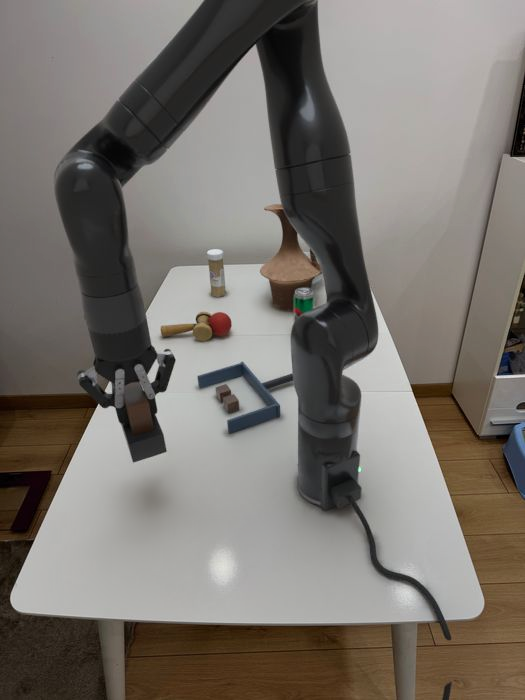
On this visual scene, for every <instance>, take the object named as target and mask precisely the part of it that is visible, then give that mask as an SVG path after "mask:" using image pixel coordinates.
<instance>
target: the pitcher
mask: <svg viewBox="0 0 525 700" xmlns="http://www.w3.org/2000/svg"><path fill="white" fill-rule="evenodd" d="M263 210H264V211H267V212H271V213H273V214H275V215H276V216H277V217H278V219H279V221H280V224H281V231H282V237H281V244H280V246H279V250H278V252H277V253H276V254H275V255H274V256H273V258H271V259H270V260H269V261H267V262H266V263H264V264H263V265H261V267H260V268H259V273H260V275H261V276H262V277H264V278H266V279H268V283H269V286H270V293H271V300H272V301H271V304H272V306H273V307H274V308H276V309H278V310H282V311H289V312H290V311H293V295H294V293H295V290H296V289H298V288H310V289H312V286H313V284H312V281H313V279H314V278H315V277H316V276H318V275H320V274H322V270H321V267H320V264H319V263H318V262H317V260H316V256H315V255H314V253H313V252H312V251H311V249H310V248H309V252H310V258H311V259H310V258H309V257H308V256H306V255H305V254H304V252H305V251H303V249H302V248H301V246H300V243H299V238H298V236H299V235H298V233H297V232H296V230H295V229H294V227H293V226H292V225H291V223H290V222H289V220H288V218H287V217H286V215H285V213H284V211H283V208H282V204H281V203H277V204H271V205H267V206H265V207H264V208H263Z"/></svg>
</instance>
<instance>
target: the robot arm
mask: <svg viewBox="0 0 525 700" xmlns="http://www.w3.org/2000/svg"><path fill="white" fill-rule="evenodd" d="M320 35H321V34H320V24H319V0H202V2H201V3H200V4H199V5H198V6H197V8H196V9H195V10H194V12H193V13H192V14H191V15H190V17H189V18H188V19H187V20H186V22H184V24H183V25H182V26H181V27H180V28H179V29H178V31H177V32H176V33H175V34H174V35H173V36H172V38H171V39H169V40H168V42H167V43H166V44H165V45H164V46H163V48H161V50H160V51H159V52H158V53H157V54H156V55H155V56H154V58H152V59H151V61H150V62H149V63H148V64H147V65H146V66H145V67H144V68H143V69H142V71H140V73H138V75H137V76H136V77H135V79H134V80H133V81H132V82H131V83H130V84H129V85H128V87H127V88H126V89H125V90H124V91H123V92H122V94H121V95H120V96H119V97H118V99H116V101H115V102H114V103H113V104H112V106H111V107H110V108H109V110H108V111H107V113H106V114H105V115H104V116H103V117H102V119H101V120H99V122H98V123H96V124H95V125H94V126H93V127H92V128H91V129H90V130H89V131H87V132H86V133H85V134H83V136H82V137H81V138H80V139H79V140H78V141H77V142H76V143H74V144H73V146H71V148H70V149H69V150H68V151H67V152H66V153H65V155H64V156H63V157H62V158H61V159H60V160H59V162H58V164H57V166H56V167H55V170H54V174H53V193H54V198H55V203H56V206H57V209H58V212H59V216H60V221H61V222H62V226H63V229H64V232H65V235H66V238H67V241H68V243H69V246H70V249H71V253H72V262H73V266H74V270H75V275H76V280H77V282H78V287H79V290H80V295H81V307H82V310H83V318H84V320H85V323H86V326H87V330H88V334H89V338H90V342H91V345H92V349H93V353H94V360H93V363H92V364H93V366H91V367H90V368H88V369H86V370H85V369H80V370H79V371H78V372H77V374H76V375H77V381H78V384H79V386H80V388H82V389H83V390H84V391H85V392H86V393H87V394H88V395H89V397H91V398H92V399H93V400H94V401H95V402H96V403H97V404H98V405H99V406H100V407H101V408H102V409H108V408H109V407H113V408H115V412H116V417H117V420H118V423H119V424H120V425H121V424H123V423H124V424H125V426H129V425H130V423H129V419H128V415H127V410H126V406H125V403H124V386H126V385H128V384H130V383H134V382H140V383H141V386H142V388H143V390H144V393H145V395H146V398H147V400H148V403H149V407H150V412H151V417H152V418H154V414H155V415H157V414H158V406H157V401H156V396H157V395H158V394H159V393H161V394H162V393H165V392H166V391H167V390H168V386H169V383H170V380H171V377H172V374H173V370H174V367H175V364H176V361H177V360H176V358H175V355H174V353H173V351H172V350H171V349H170V348H165V349H164V350H157V349H156V348H155V347H154V346H153V345H152V340H151V339H152V338H151V334H150V328H149V324H148V319H147V313H146V307H145V302H144V297H143V293H142V291H141V288H140V285H139V281H138V275H137V271H136V270H137V269H136V263H135V259H134V256H133V255H134V254H133V252H132V249H131V245H130V237H129V225H128V217H127V216H128V215H127V207H126V202H125V201H126V200H125V196H124V191H123V188H124V187H125V186H126V184H127V183H129V181H131V179H132V178H133V177H135V175H136V174H137V173H139V171H140V170H141V169H142V168H143V167H145V166H150V165H153V164H155V163H156V162H157V161H158V160H159V159H160V158H161V157H163V156H164V155H165V154H166V153H167V152H168V150H169V149H170V148H171V147H172V146H173V145H174V144H175V142H177V140H178V139H179V138H180V137H181V136H182V135H183V134H184V133H185V131H187V129H188V128H189V127H190V126H191V124H193V122H195V120H196V119H197V117H198V116H199V115H200V114H201V113H202V112H203V110H204V109H205V108H206V106H207V105H208V103H209V102H210V101H211V100H212V99H213V97H214V96H215V94H216V92H218V90H219V89H220V87H221V86H222V85H223V84H224V82H225V81H226V79H227V78H228V77H229V75H231V73H232V72H233V71H234V69H235V68H236V67H237V66H238V65H239V63H240V62H241V61H242V60H243V58H244V57H245V56H246V55H247V54H248V53H249V52H250V51H251V50H252V49H253V47H254V46H255V48H256V52H257V55H258V59H259V63H260V67H261V72H262V77H263V83H264V91H265V101H266V110H267V121H268V122H267V123H268V129H269V136H270V137H269V138H270V144H271V150H272V158H273V167H274V169H275V170H274V172H275V177H276V183H277V189H278V196H279V199H280V204H282V208H283V211H284V213H285V215H286V217H287V218H288V220H289V222H290V223H291V225H292V226H293V227H294V229H295V230H296V232H297V235H298V236H299V237H300V238H301V239H302V240H303V242H304V243H305V244H306V245H307V247H308V248H309V250H310V249H311V251H312V252H313V253H314V255H315V256H316V258H317V260H318V262H319V264H320V267H321V270H322V274H323V277H322V279H323V283H324V288H325V298H326V303H324V304H320V305H319V306H317V307H314V309H312V310H310V311H308V312H306V313H304V314H302V315H300V316H299V317H298V318H297V319H296V320H295V322H294V321H293V324H292V327H291V330H290V331H291V332H290V340H289V341H290V356H291V371H292V373H293V381H292V383H293V387H294V390H295V393H296V395H297V480H296V481H297V482H296V485H297V489H298V492H299V493H300V495H301V497H303V499H305V500H306V501H308V502H309V503H310V504H313V505H315V506H318V507H321V508H322V509H323V511H328V510H331V509H333V508H335V507H337V509H341V508H343V507H346V506H348V505H351V507H352V509H353V510H354V511H355V513H356V515H357V516H358V519H359V520H360V522H361V525H362V526H363V528H364V531H365V533H366V537H367V540H368V543H369V550H370V559H371V561H372V563H373V565H374V567H375V568H376V569H377V570H378V571H379V572H380V573H382V575H384V576H386V577H388V578H391V579H395V580H400V581H404V582H407V583H409V584H411V585H413V586H414V587H416V589H417V590H419V591H420V592H421V594H423V595H424V597H425V598H426V599H427V601H428V602H429V604H430V606H431V607H432V610H433V612H434V613H435V616H436V618H437V621H438V623H439V626H440V628H441V631H442V633H443V634H442V635H443V636H444V639H445V640H446V641H451V640H452V635H451V632H450V629H449V627H448V624H447V622H446V619H445V616H444V614H443V612H442V610H441V608H440V605H439V604H438V602H437V601H436V599H435V597H434V596H433V595H432V593H431V592H430V591H429V590H428V588H427V587H425V586H424V585H423V584H422V583H421V582H420V581H419V580H418V579H416V578H414V577H412V576H411V575H407V574H404V573H400V572H396V571H392V570H390V569H387V568H386V567H384V566H383V565H382V564H381V563H380V561H379V559H378V556H377V547H376V542H375V541H376V540H375V537H374V535H373V532H372V529H371V527H370V524H369V522H368V520H367V518H366V517H365V514H364V513H363V511H362V509H361V508H360V506H359V505H358V503H357V501H359V500H361V496H362V495H361V494H362V486H361V485H360V484H359V483H358V482H359V474H360V472H361V467H360V461H361V454H360V452H359V451H358V440H359V428H360V419H361V407H362V391H361V388H360V385H359V384H358V383H357V382H356V381H355V380H354V379H353V378H351V377H349V376H347V375H345V374H343V372H344V371H345V370H347V369H348V368H350V367H352V366H353V365H356V364H357V363H359V362H361V361H363V360H364V359H366V358H367V357H368V356H370V355H371V354H372V353H373V352H374V350H376V347H377V344H378V341H379V322H378V316H377V310H376V307H375V303H374V297H373V293H372V288H371V284H370V280H369V275H368V272H367V271H368V270H367V267H366V262H365V257H364V251H363V244H362V243H363V242H362V237H361V231H360V230H361V229H360V223H359V215H358V210H357V208H358V207H357V201H356V200H357V199H356V188H355V177H354V170H353V161H352V154H351V152H352V151H351V146H350V141H349V137H348V132H347V129H346V126H345V123H344V119H343V116H342V115H341V111H340V109H339V106H338V103H337V101H336V99H335V96H334V95H333V91H332V89H331V87H330V84H329V81H328V78H327V75H326V72H325V67H324V62H323V56H322V48H321V37H320ZM155 362H157V364H158V367H157V370H156V374H155V378H154V381H150V379H149V377H148V376H149V375H148V374H149V373H150V371H151V369H152V368H153V366H154V364H155ZM292 373H291V374H292ZM98 375H99V376H101V377H102V378H104V379H106V381H108V382H110V383H111V393H107V392H106V391H105V390H104V389H103V388H102V386H101V385H100V384H99V383H98V377H97V376H98ZM452 683H453V682H452V681H450V682H448V683H447V684H445V685H444V687H443V694H442V698H441V700H450V696H451V690H452Z"/></svg>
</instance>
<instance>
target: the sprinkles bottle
mask: <svg viewBox="0 0 525 700" xmlns="http://www.w3.org/2000/svg"><path fill="white" fill-rule="evenodd" d="M206 257H207V260H208V262H207V263H208V272H209V282H210V283H209V284H210V291H211V292H210V295H211V296H212V297H215V298H219V297H221V298H222V297H224V296H225V295H226V293H227V291H226V278H225V277H226V276H225V267H224V251H223V250H222V249H220V248H219V249H218V248H214V249H213V248H212V249H209V250H208V251H207V252H206Z"/></svg>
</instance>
